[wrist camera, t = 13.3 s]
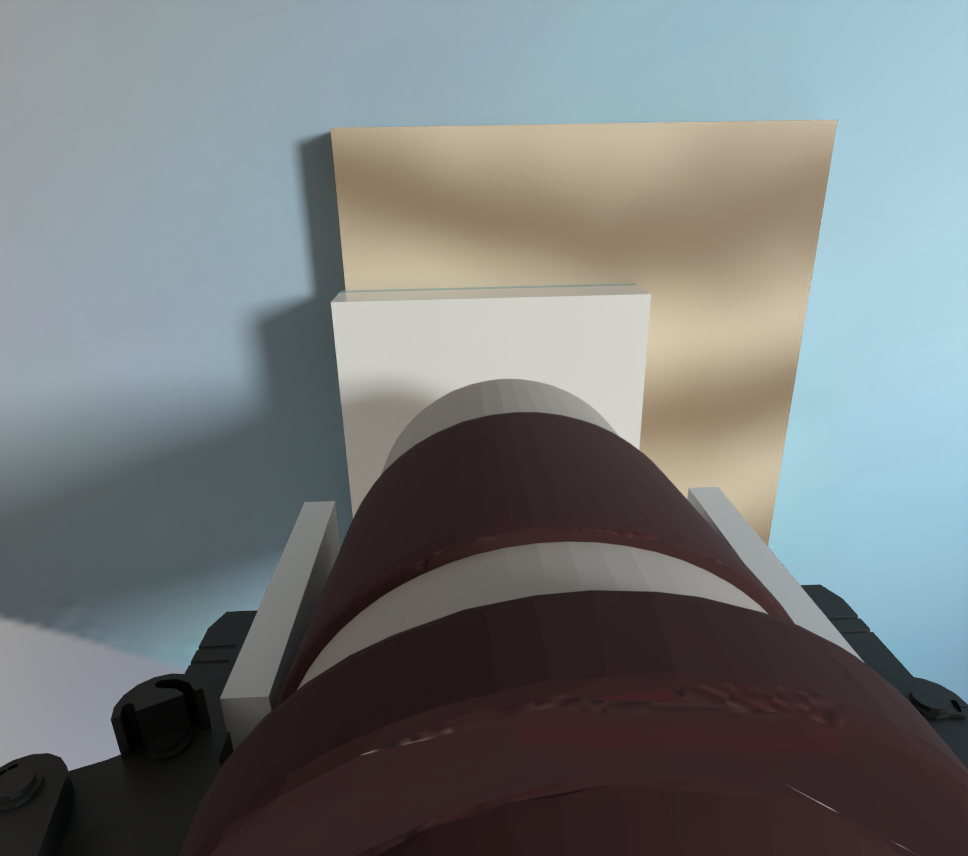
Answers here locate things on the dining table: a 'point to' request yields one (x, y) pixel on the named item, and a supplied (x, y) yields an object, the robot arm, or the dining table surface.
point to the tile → (482, 355)
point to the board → (621, 256)
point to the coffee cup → (567, 675)
